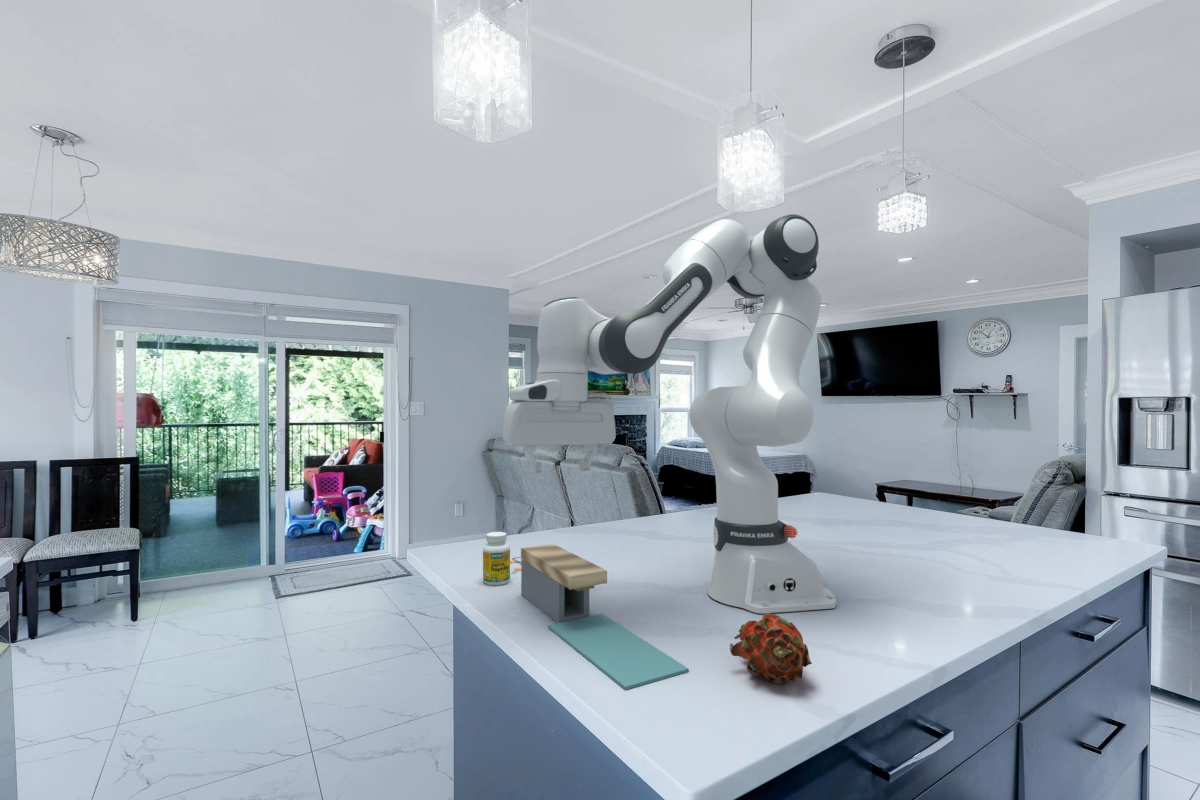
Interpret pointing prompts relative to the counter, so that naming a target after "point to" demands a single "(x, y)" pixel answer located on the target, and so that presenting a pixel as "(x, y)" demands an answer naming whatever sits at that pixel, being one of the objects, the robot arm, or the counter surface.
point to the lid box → (553, 595)
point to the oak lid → (564, 566)
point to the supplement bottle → (496, 559)
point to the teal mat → (617, 651)
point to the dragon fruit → (772, 649)
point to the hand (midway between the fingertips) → (560, 471)
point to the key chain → (515, 568)
